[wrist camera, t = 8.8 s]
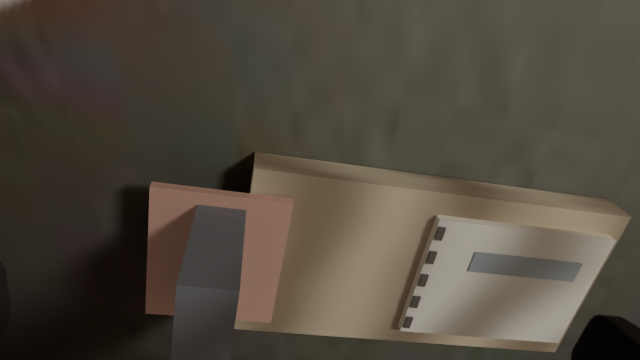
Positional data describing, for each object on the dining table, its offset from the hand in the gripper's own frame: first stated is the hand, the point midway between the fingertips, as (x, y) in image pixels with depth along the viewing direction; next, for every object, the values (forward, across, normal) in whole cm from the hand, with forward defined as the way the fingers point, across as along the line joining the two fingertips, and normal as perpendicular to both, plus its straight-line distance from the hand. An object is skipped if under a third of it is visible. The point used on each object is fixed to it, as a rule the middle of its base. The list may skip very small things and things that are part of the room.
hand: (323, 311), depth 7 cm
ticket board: (+12, -7, +7) cm, 16 cm away
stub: (+10, +2, +7) cm, 13 cm away
